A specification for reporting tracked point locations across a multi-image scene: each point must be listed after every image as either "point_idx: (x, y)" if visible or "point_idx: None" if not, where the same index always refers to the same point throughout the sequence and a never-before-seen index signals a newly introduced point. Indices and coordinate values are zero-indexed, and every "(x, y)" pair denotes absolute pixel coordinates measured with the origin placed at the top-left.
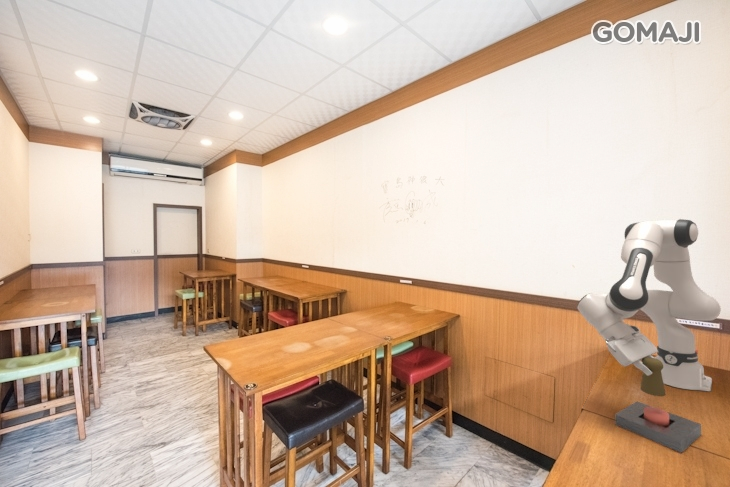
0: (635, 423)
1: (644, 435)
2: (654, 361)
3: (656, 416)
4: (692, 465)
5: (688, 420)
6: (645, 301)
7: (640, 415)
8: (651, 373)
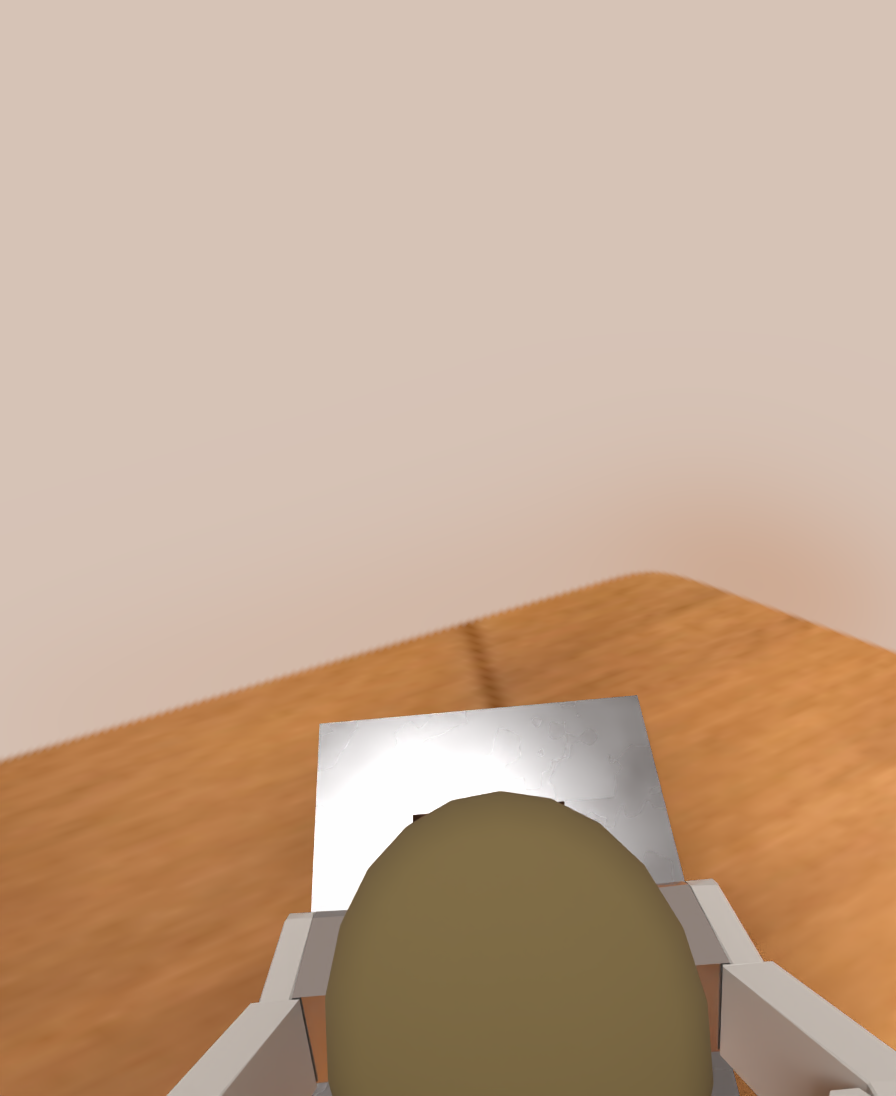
0: None
1: None
2: (615, 895)
3: None
4: (672, 651)
5: (330, 777)
6: None
7: None
8: (711, 880)
